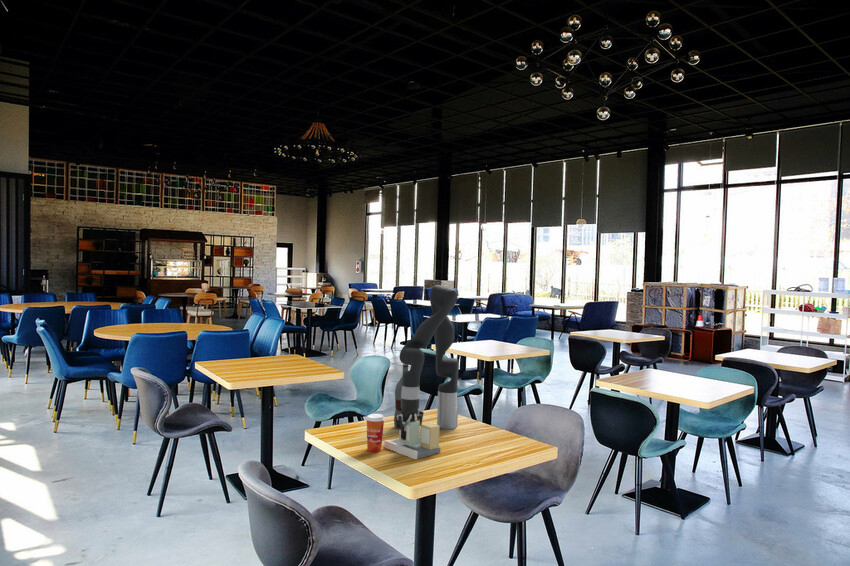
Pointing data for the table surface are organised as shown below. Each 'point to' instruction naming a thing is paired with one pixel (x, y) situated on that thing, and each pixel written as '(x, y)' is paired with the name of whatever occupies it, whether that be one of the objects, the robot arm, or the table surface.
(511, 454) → the table surface
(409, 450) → the display board
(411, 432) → the tea box
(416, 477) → the table surface
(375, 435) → the paper cup
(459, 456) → the table surface
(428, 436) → the mustard box
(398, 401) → the bottle
